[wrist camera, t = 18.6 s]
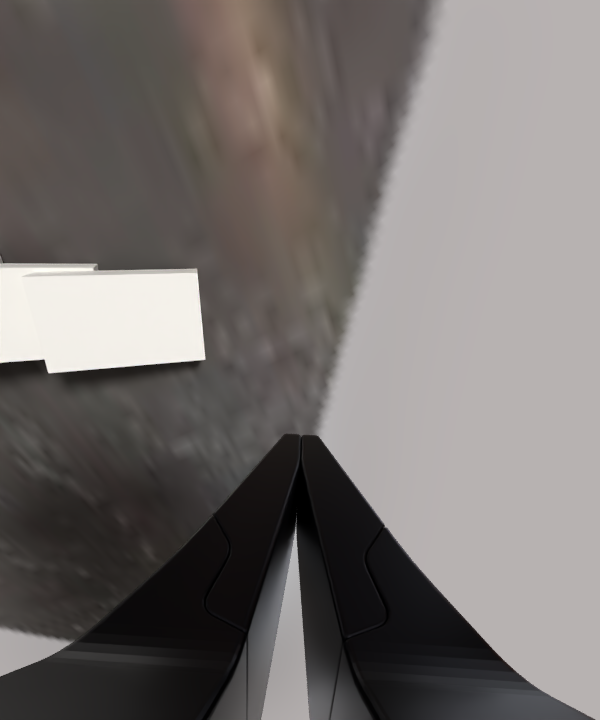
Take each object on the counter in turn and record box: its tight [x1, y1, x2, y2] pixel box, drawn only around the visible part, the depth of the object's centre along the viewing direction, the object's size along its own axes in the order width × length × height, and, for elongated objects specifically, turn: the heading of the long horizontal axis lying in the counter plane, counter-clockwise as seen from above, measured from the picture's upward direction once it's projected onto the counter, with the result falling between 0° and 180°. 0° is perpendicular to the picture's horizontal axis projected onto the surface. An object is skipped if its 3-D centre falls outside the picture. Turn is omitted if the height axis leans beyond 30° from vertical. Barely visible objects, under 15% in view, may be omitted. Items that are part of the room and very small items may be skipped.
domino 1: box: [0, 263, 99, 363], centre depth 19 cm, size 2×5×8 cm
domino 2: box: [21, 269, 205, 373], centre depth 19 cm, size 2×5×8 cm
